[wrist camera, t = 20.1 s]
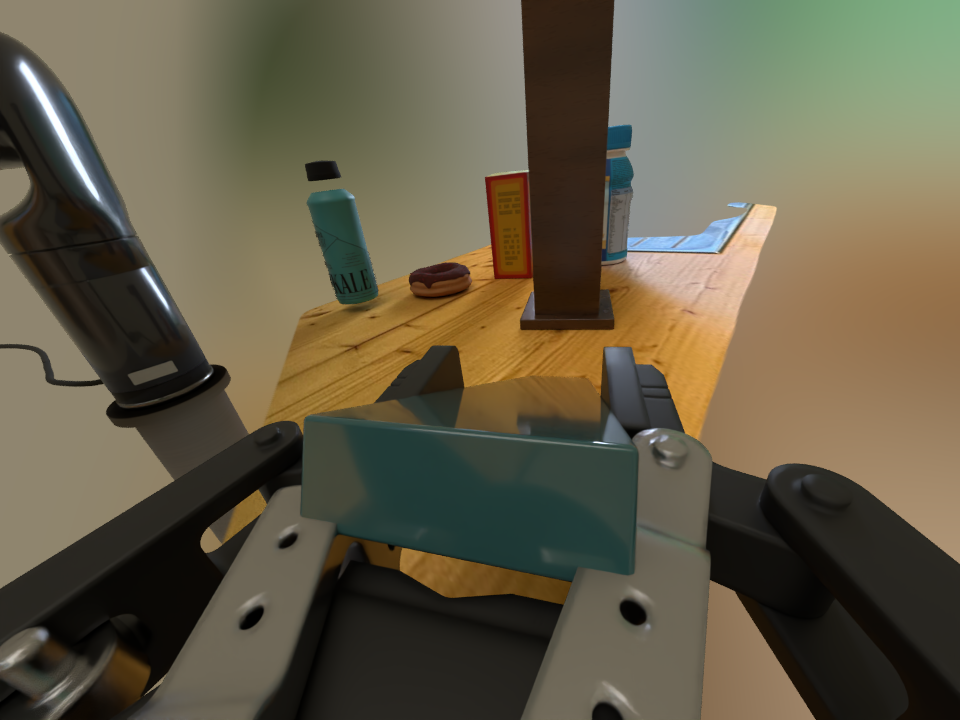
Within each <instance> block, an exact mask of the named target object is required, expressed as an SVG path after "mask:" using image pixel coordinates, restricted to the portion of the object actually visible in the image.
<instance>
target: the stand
mask: <svg viewBox="0 0 960 720" xmlns="http://www.w3.org/2000/svg"><path fill="white" fill-rule="evenodd" d="M521 5H522V6H521V7H522V30H523V53H524V74H525V96H526V97H525V99H526V120H527V121H526V122H527V145H528V166H529V167H528V168H529V191H530V214H531V237H532V260H533V283H534V292H531V294H530V297H529V299H528V302H527V304H526V307H525V309H524V312H523V314H522V317H521V319H520V327H521V329H614V315H613V309H612V304H611V299H610V294H609V290H600V282H601V261H602V241H603V220H604V200H605V180H606V159H607V139H608V118H609V98H610V77H611V57H612V37H613V16H614V0H521Z"/></svg>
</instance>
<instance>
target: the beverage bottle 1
mask: <svg viewBox="0 0 960 720" xmlns="http://www.w3.org/2000/svg"><path fill="white" fill-rule="evenodd" d="M305 168H306V172H307V178H308V181H318V180H327V179H335V178H340V177H341V175H340V172H339V170H338V167H337V164H336V162H335V161H316V162H312V163H308V164H305ZM307 205H308V207H309V210H310V213H311V216H312V219H313V224H314V227H315V230H316V233H317V236H318V239H319V242H320V243H319V244H320V246H321V249H322V252H323V256H324V258H325V261H326V262H325V265H326V264H327V265H326V266H327V268H328V271H329V275H330V280H332V281H331V283H333V284H332V286H333V287H334V290H335V294H336V297H337V299H338V301H339V302H340V303H341V304H357V303H362V302H366V301H369V300H371V299H374V298H375V297H377V296H378V288H377V287H378V286H377V284H376V280H375V277H374V273H373V269H372V264H371V261H370V257H369V254H368V251H367V247H366V243H365V239H364V235H363V231H362V227H361V224H360V220H359V216H358V212H357V208H356V204H355V198H354V196H353V195H352V194H350V193H349V192H348V191H346V190H345V189H337V190H329V191H322V192H315V193H311V195H310V197H309V198H308V200H307ZM317 236H316V237H317Z"/></svg>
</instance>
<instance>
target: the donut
mask: <svg viewBox="0 0 960 720" xmlns="http://www.w3.org/2000/svg"><path fill="white" fill-rule="evenodd" d="M410 274H411V275H410V277H409V283H410V285H411V286H410V290H411V291H412V292H413V293H414V294H416V295H419V296H426V297H437V296H444V295H449V294H454V293H457V292H460V291H463V290H465V289H466V288H468V287H469V286H470V285H471V282H472V280H471V278H470V276H469V274H470V271H469V270H468V268H467V267H466V266H465V265H460V264H458V263H441V264H437V265H433V266H430V267H427V268H421V269H418V270H416V271H414V272H413V273H410Z"/></svg>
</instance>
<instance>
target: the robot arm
mask: <svg viewBox="0 0 960 720" xmlns="http://www.w3.org/2000/svg"><path fill="white" fill-rule="evenodd" d="M24 167H25V169H26V171H27V174H28V176H29V179H30V188H29V190H28V193H27V195H26V196H25V197H24V199H23V200H22V201H21V202H20V203H19V204H18V205H17V206H15V207H14V208H13V209H11V210H9V211H8V212H6V213H4V214H3V215H1V216H0V244H1V245H2V247H3V248H4V249H5V251H6V252H7V253H8V254H12V255H10V257H11V259H12V260H13V261H14V263H15V264H16V265H17V267H18V268H19V270H20V271H21V272H22V274H23V275H24V276H25V278H26V279H27V280H28V282H29V283H30V284H31V286H32V287H33V288H34V289H35V291H36V292H37V293H38V295H39V296H40V298H41V299H42V300H43V301H44V303H45V304H46V306H47V307H48V308H49V310H50V311H51V312H52V314H53V315H54V316H55V318H56V319H57V320H58V322H59V323H60V324H61V326H62V327H63V328H64V330H65V331H66V333H67V334H68V335H69V337H70V338H71V339H72V341H73V342H74V343H75V345H76V346H77V347H78V349H79V350H80V351H81V353H82V354H83V356H84V357H85V358H86V360H87V361H88V362H89V364H90V365H91V366H92V368H93V369H94V370H95V372H96V373H97V374H98V376H99V377H100V379H98V380H92V381H65V380H56V379H54V372H53V370H52V367H51V363H50V360H49V358H48V356H47V354H46V353H45V352H44V351H43V350H41V349H39V348H37V347H33V346H29V345H19V344H4V345H3V344H1V345H0V348H19V349H27V350H32V351H34V352H36V353H38V354H39V355H40V357H41V359H42V362H43V368H44V371H45V379H46V381H47V382H48V383H49V384H52V385H57V386H69V387H85V386H96V385H102V384H105V386H106V387H107V388H108V390H109V391H110V392H111V394H112V395H113V396H114V398H115V399H116V403H117V404H118V405H119V407H120V408H121V409H122V410H125V411H140V410H146V409H150V408H155V407H158V406H162V405H165V404H168V403H171V402H173V401H176V400H178V399H181V398H183V397H185V396H187V395H190V394H191V393H193V392H195V391H197V390H199V389H200V388H202V387H203V386H205V385H206V384H207V383H209V382H210V381H211V380H212V379H213V377H214V376H215V372H214V370H213V368H212V366H211V365H209V363H208V361H207V359H206V358H205V356H204V354H203V352H202V350H201V348H200V347H199V344H198V343H197V341H196V339H195V337H194V335H193V334H192V332H191V330H190V328H189V326H188V325H187V323H186V321H185V319H184V317H183V316H182V314H181V312H180V310H179V308H178V307H177V305H176V303H175V301H174V300H173V298H172V296H171V294H170V292H169V291H168V289H167V287H166V285H165V283H164V282H163V280H162V278H161V276H160V275H159V273H158V271H157V269H156V267H155V265H154V264H153V262H152V260H151V259H150V257H149V255H148V253H147V251H146V250H145V248H144V246H143V244H142V242H141V240H140V239H139V237H138V236H137V233H136V231H135V229H134V227H133V226H132V224H131V221H130V219H129V216H128V212H127V209H126V205H125V202H124V200H123V198H122V196H121V194H120V192H119V190H118V188H117V186H116V184H115V182H114V180H113V178H112V176H111V174H110V172H109V170H108V168H107V166H106V164H105V162H104V160H103V157H102V155H101V153H100V151H99V149H98V147H97V145H96V143H95V141H94V139H93V136H92V135H91V132H90V130H89V128H88V126H87V124H86V122H85V120H84V119H83V116H82V115H81V112H80V111H79V109H78V107H77V105H76V104H75V102H74V100H73V99H72V97H71V96H70V94H69V92H68V91H67V89H66V88H65V87H64V85H63V84H62V82H61V81H60V80H59V78H58V77H57V76H56V75H55V73H54V72H53V71H52V70H51V69H50V68H49V67H48V65H47V64H46V63H45V62H44V61H43V60H42V59H41V58H40V57H39V56H38V55H36V54H35V53H34V52H33V51H32V50H30V49H29V48H28V47H27V46H25V45H24V44H23V43H21V42H20V41H18V40H16V39H15V38H13V37H11V36H9V35H7V34H4V33H2V32H0V170H3V169H14V168H24ZM459 388H464V382H463V376H462V370H461V364H460V358H459V352H458V349H457V347H456V346H432V347H431V348H430V349H429V350H428V351H427V353H426V354H425V355H424V356H423V358H422V359H421V360H416V361H415V362H413V363H412V364H410V365H408V366H407V367H405V368H404V369H403V370H402V372H401V373H400V374H399V375H398V376H397V379H395V380H394V381H393V382H392V383H391V386H389V387H388V388H387V389H386V390H385V391H384V392H383V394H382V395H381V396H380V397H379V398H378V399H377V400H376V402H375V403H379V402H385V401H391V400H396V399H402V398H408V397H413V396H419V395H425V394H430V393H436V392H442V391H447V390H453V389H459ZM601 397H602V399H603V400H604V401H605V403H606V404H607V406H608V407H609V408H610V410H611V411H612V413H613V414H614V416H615V417H616V418H617V420H618V421H619V423H620V424H621V425H622V427H623V428H624V430H625V431H626V432H627V434H628V435H629V437H630V438H631V439H632V441H633V442H634V444H635V445H636V447H637V448H638V451H639V479H638V510H637V541H636V568H635V572H634V574H632V575H628V576H627V575H622V574H616V573H611V572H605V571H600V570H594V569H588V568H583V567H578V568H577V571H576V574H575V576H574V579H573V582H572V584H571V587H570V590H569V592H568V595H567V598H566V600H565V603H564V605H562V604H557V603H552V602H548V601H543V600H538V599H534V598H529V597H524V596H519V595H515V594H502V595H488V596H474V597H459V598H448V597H444V596H442V595H440V594H438V593H437V592H435V591H433V590H432V589H430V588H428V587H427V586H425V585H423V584H421V583H420V582H418V581H416V580H415V579H413V578H411V577H410V576H408V575H406V574H404V573H403V572H401V571H400V556H401V550H402V547H398V546H393V545H388V544H383V543H378V542H373V541H368V540H363V539H358V538H354V537H349V536H344V535H339V533H338V530H337V523H332V522H327V521H321V520H315V519H310V518H304V517H302V516H301V515H300V503H301V479H302V455H303V434H302V432H301V430H300V428H299V426H298V424H297V423H295V422H292V421H280V422H275V423H272V424H269V425H266V426H264V427H262V428H260V429H258V430H256V431H255V432H253V433H251V434H249V435H248V436H246V437H245V438H243V439H241V440H240V441H238V442H237V443H235V444H233V445H232V446H230V447H228V448H227V449H225V450H224V451H222V452H220V453H219V454H217V455H216V456H214V457H212V458H211V459H209V460H207V461H206V462H204V463H203V464H201V465H199V466H198V467H196V468H195V469H193V470H191V471H190V472H188V473H186V474H185V475H183V476H182V477H180V478H178V479H177V480H175V481H174V482H172V483H170V484H169V485H167V486H166V487H164V488H162V489H161V490H159V491H157V492H156V493H154V494H153V495H151V496H149V497H148V498H146V499H144V500H143V501H141V502H140V503H138V504H136V505H135V506H133V507H132V508H130V509H128V510H127V511H125V512H124V513H122V514H120V515H119V516H117V517H115V518H114V519H112V520H111V521H109V522H107V523H106V524H104V525H103V526H101V527H99V528H98V529H96V530H94V531H93V532H91V533H90V534H88V535H86V536H85V537H83V538H81V539H80V540H78V541H77V542H75V543H73V544H72V545H70V546H69V547H67V548H66V549H64V550H62V551H61V552H59V553H57V554H56V555H54V556H52V557H51V558H49V559H48V560H46V561H44V562H43V563H41V564H40V565H38V566H36V567H35V568H33V569H31V570H30V571H28V572H27V573H25V574H23V575H22V576H20V577H18V578H17V579H15V580H14V581H12V582H10V583H9V584H7V585H6V586H4V587H2V588H1V589H0V720H700V719H701V704H702V689H703V674H704V658H705V643H706V628H707V612H708V598H709V581H710V580H712V581H714V582H716V583H718V584H720V585H723V586H725V587H727V588H729V589H732V590H734V591H735V592H736V594H737V596H738V598H739V599H740V601H741V602H742V604H743V605H744V607H745V608H746V610H747V612H748V613H749V615H750V617H751V618H752V620H753V621H754V623H755V624H756V626H757V627H758V629H759V631H760V632H761V634H762V635H763V637H764V639H765V640H766V642H767V643H768V645H769V646H770V648H771V650H772V651H773V653H774V654H775V656H776V658H777V659H778V661H779V662H780V664H781V665H782V667H783V669H784V670H785V672H786V673H787V675H788V677H789V678H790V680H791V681H792V683H793V684H794V686H795V688H796V689H797V691H798V692H799V694H800V696H801V697H802V699H803V700H804V702H805V703H806V705H807V707H808V708H809V710H810V711H811V713H812V715H813V716H814V718H815V719H816V720H960V564H959V563H958V562H957V561H955V560H954V559H953V558H951V557H950V556H949V555H948V554H946V553H945V552H944V551H943V550H941V549H940V548H939V547H938V546H936V545H935V544H934V543H933V542H931V541H930V540H929V539H928V538H926V537H925V536H924V535H923V534H921V533H920V532H919V531H918V530H916V529H915V528H914V527H912V526H911V525H910V524H909V523H908V522H906V521H905V520H904V519H902V518H901V517H900V516H899V515H897V514H896V513H895V512H894V511H892V510H891V509H890V508H889V507H887V506H886V505H885V504H884V503H882V502H881V501H880V500H879V499H877V498H876V497H875V496H874V495H872V494H871V493H870V492H869V491H867V490H866V489H864V488H863V487H862V486H860V485H859V484H857V483H855V482H853V481H852V480H850V479H848V478H846V477H844V476H842V475H840V474H837V473H835V472H832V471H830V470H827V469H824V468H820V467H816V466H811V465H806V464H785V465H780V466H778V467H775V468H774V469H772V470H771V472H770V473H769V475H768V478H767V480H766V479H763V478H759V477H756V476H753V475H749V474H746V473H742V472H739V471H736V470H732V469H729V468H726V467H723V466H721V465H719V464H716V463H714V462H713V461H712V457H711V455H710V453H709V451H708V450H707V449H706V447H705V446H704V445H703V444H701V443H700V442H699V441H698V440H696V439H695V438H693V437H691V436H689V435H687V434H685V432H684V429H683V426H682V423H681V421H680V418H679V415H678V413H677V410H676V407H675V404H674V402H673V399H672V398H671V397H672V396H671V394H670V391H669V389H668V385H667V383H666V380H665V377H664V375H663V374H662V373H661V372H660V371H658V370H657V369H656V368H655V367H654V366H652V365H640V364H635V360H634V356H633V352H632V348H631V347H604V349H603V363H602V381H601ZM258 489H259V491H260V493H261V494H262V496H263V498H264V499H265V501H266V503H267V506H266V507H265V509H264V511H263V512H262V514H260V515H259V516H258V517H257V518H255V519H254V520H253V521H252V522H250V523H249V524H248V525H247V526H245V527H244V528H243V529H242V530H241V531H239V532H238V533H237V534H236V535H234V536H233V537H232V538H231V539H229V540H228V541H227V542H226V543H224V544H223V545H222V546H221V547H219V548H218V549H216V550H215V551H213V552H210V553H205V552H204V551H203V550H202V548H201V545H200V540H201V537H202V535H203V533H204V532H205V530H206V529H207V528H208V527H209V526H210V525H211V524H212V523H213V522H215V521H216V520H217V519H219V518H220V517H221V516H223V515H224V514H225V513H227V512H228V511H229V510H231V509H232V508H233V507H235V506H236V505H237V504H239V503H240V502H242V501H243V500H244V499H246V498H247V497H248V496H250V495H251V494H252V493H254V492H255V491H256V490H258ZM166 674H167V675H166ZM164 675H166V677H165V678H164V680H163V682H162V683H161V684H160V685H159V686H158V687H156V688H155V689H153V690H152V691H150V692H149V693H147V692H148V691H149V690H150V689H151V688H152V687H153V686H154V685H155V684H156V683H157V682H158V681H159V680H160V679H161V678H162V677H164ZM146 693H147V694H146ZM145 694H146V695H145ZM144 695H145V696H144Z"/></svg>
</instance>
